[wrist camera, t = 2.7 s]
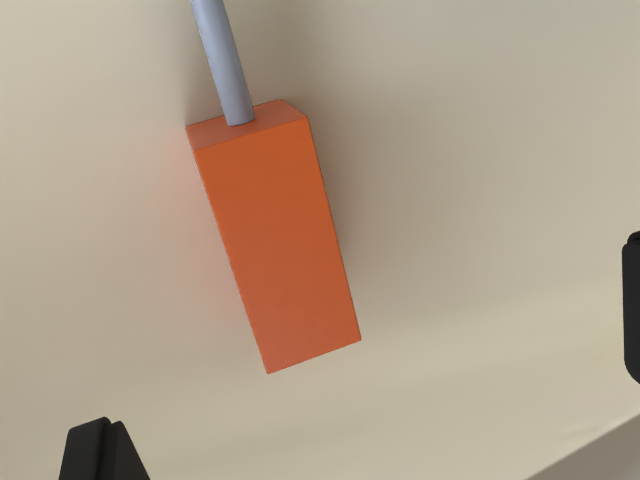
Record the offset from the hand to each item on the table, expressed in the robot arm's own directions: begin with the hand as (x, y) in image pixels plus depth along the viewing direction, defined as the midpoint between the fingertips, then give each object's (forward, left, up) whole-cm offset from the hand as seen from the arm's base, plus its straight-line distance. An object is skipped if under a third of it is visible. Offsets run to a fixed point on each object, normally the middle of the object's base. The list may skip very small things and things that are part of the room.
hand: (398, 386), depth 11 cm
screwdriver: (-1, +2, -10) cm, 10 cm away
